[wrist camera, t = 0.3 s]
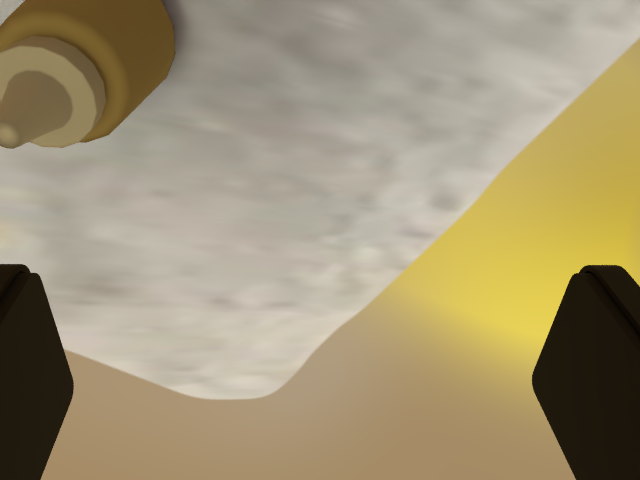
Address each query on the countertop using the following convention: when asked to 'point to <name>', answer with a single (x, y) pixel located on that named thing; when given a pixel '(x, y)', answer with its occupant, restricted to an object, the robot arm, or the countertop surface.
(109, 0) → the squeeze bottle
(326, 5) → the countertop surface
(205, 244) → the countertop surface
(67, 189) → the countertop surface
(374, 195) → the countertop surface
